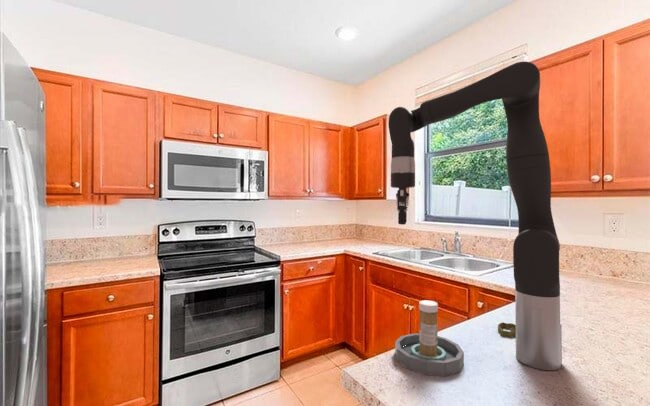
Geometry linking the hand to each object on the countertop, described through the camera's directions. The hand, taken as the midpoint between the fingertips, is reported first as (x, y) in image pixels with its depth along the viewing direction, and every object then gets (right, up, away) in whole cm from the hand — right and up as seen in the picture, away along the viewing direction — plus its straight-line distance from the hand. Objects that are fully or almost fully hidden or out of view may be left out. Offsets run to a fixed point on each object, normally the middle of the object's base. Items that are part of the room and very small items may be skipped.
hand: (402, 223), depth 97 cm
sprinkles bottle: (+2, -33, -19) cm, 38 cm away
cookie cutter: (+37, -34, -3) cm, 50 cm away
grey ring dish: (+2, -33, -19) cm, 38 cm away
